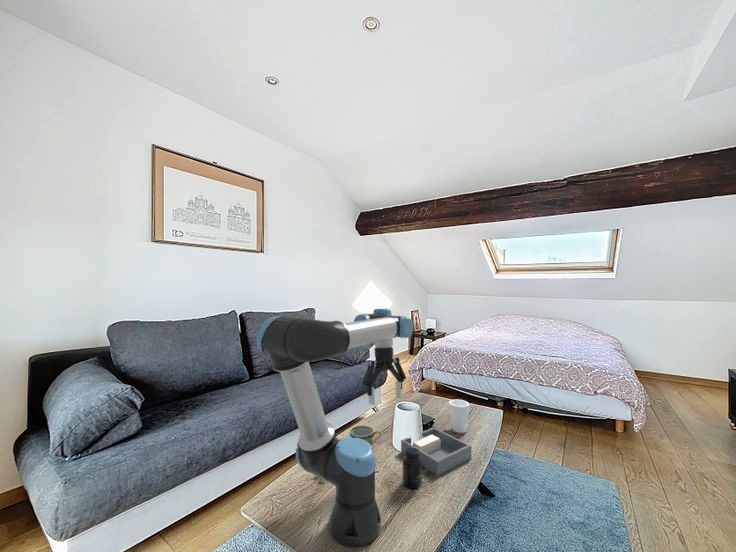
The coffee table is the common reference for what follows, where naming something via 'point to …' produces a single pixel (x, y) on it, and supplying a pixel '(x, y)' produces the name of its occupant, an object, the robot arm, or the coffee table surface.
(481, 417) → the coffee table surface
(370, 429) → the ceramic cup
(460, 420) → the foam cup
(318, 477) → the dice set
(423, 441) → the cream rectangular block
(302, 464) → the robot arm
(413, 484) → the supplement bottle
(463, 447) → the tote
